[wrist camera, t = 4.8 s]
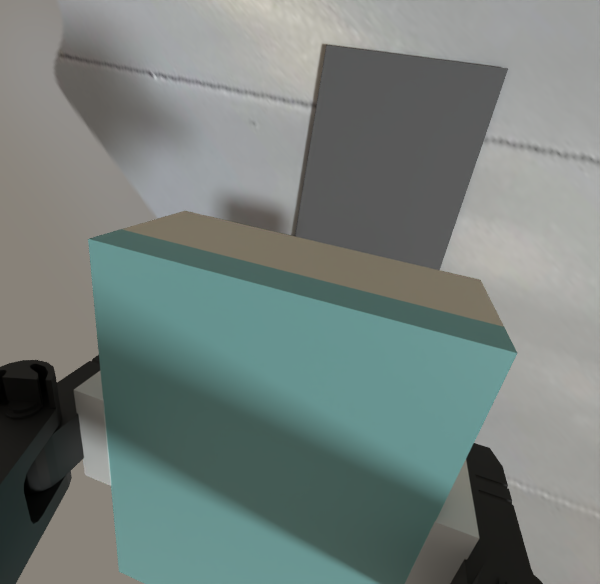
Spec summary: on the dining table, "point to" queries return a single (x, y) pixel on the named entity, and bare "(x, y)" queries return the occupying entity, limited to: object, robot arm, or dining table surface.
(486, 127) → the mat
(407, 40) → the dining table surface
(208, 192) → the dining table surface
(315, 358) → the two-tone tile
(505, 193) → the dining table surface
